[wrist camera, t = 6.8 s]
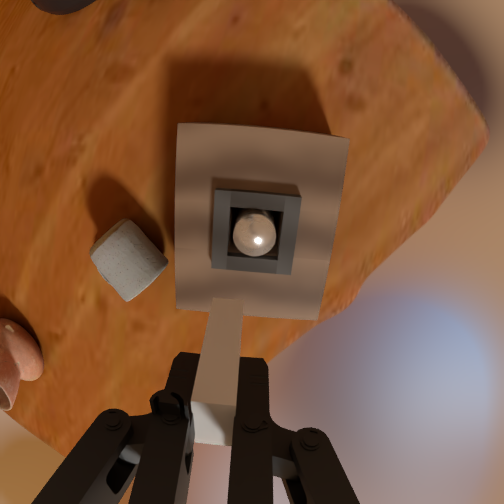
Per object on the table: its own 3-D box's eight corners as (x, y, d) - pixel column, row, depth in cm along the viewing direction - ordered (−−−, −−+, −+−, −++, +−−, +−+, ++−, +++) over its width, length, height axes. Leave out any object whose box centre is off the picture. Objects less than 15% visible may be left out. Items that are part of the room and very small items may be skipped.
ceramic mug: (134, 206, 39) (108, 227, 32) (176, 252, 42) (159, 281, 35) (89, 253, 42) (62, 278, 35) (127, 293, 45) (107, 324, 38)
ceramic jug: (-5, 294, 46) (-49, 336, 33) (51, 332, 48) (12, 384, 35) (-1, 351, 53) (-33, 391, 40) (48, 384, 55) (20, 430, 42)
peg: (239, 193, 37) (234, 214, 30) (274, 196, 37) (278, 218, 30) (237, 225, 39) (231, 254, 31) (270, 228, 39) (273, 257, 31)
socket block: (194, 122, 35) (175, 123, 27) (331, 134, 35) (352, 139, 27) (189, 275, 43) (174, 313, 35) (308, 286, 43) (318, 325, 35)
